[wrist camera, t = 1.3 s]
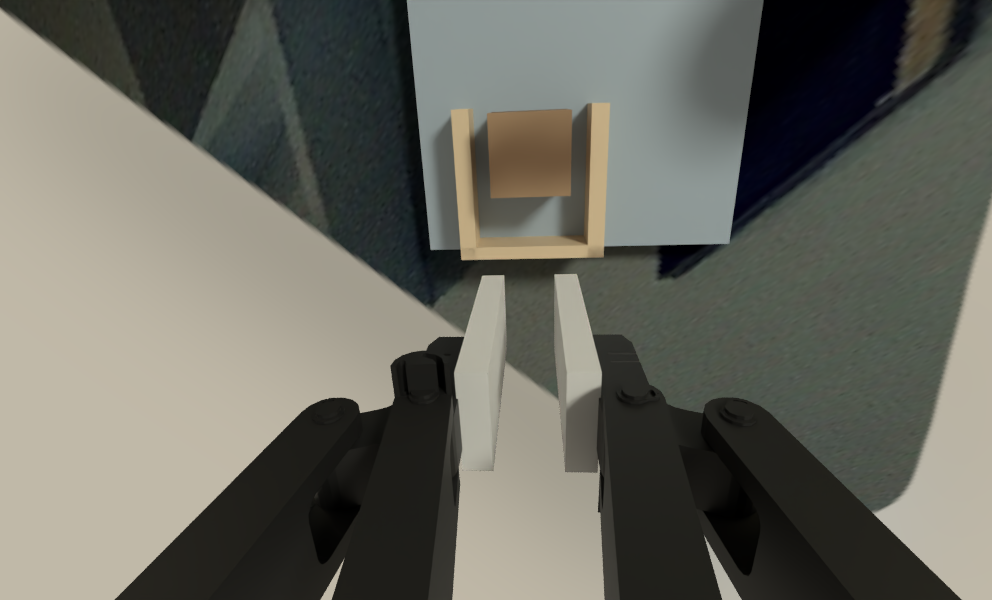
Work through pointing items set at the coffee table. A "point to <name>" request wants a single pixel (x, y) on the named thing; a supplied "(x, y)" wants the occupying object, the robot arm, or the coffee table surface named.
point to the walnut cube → (530, 153)
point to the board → (585, 119)
